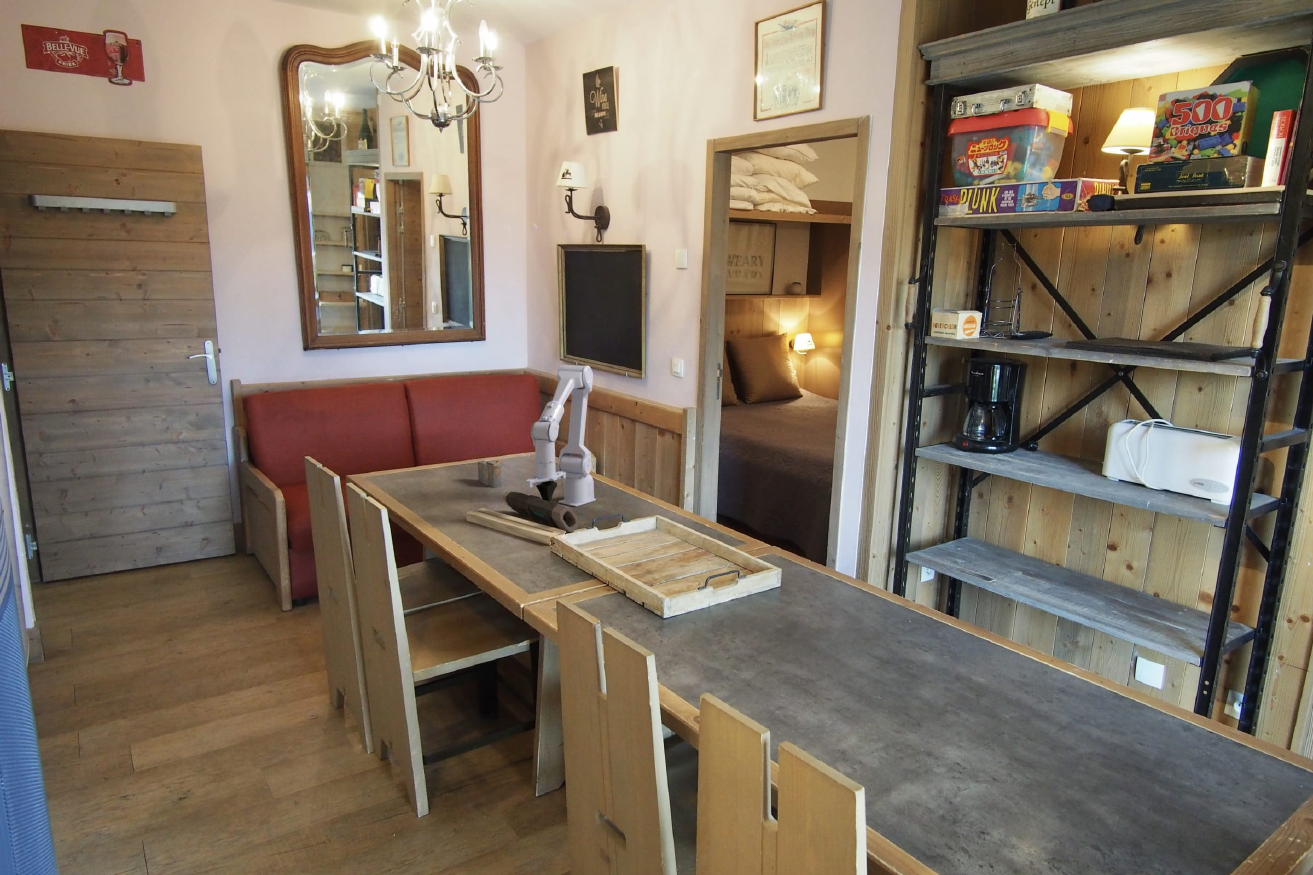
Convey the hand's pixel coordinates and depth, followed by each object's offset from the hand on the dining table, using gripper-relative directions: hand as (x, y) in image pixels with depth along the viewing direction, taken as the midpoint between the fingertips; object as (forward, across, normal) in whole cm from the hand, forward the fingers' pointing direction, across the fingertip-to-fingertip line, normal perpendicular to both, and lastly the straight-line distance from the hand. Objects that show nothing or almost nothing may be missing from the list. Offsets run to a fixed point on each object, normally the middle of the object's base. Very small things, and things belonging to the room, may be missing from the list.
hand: (546, 505), depth 242 cm
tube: (+4, -1, 0) cm, 4 cm away
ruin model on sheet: (+5, +16, +46) cm, 49 cm away
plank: (+4, -13, 0) cm, 14 cm away
